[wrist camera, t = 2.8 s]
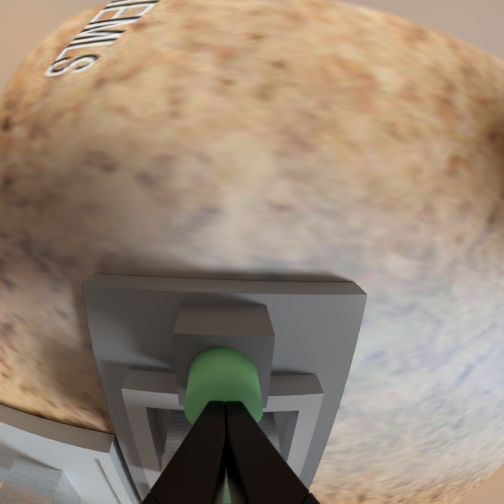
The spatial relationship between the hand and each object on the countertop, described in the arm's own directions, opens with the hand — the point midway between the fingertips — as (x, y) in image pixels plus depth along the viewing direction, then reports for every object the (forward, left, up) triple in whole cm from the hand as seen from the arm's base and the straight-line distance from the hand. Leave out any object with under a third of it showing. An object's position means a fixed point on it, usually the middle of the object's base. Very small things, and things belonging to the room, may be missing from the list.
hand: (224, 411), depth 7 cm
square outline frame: (-14, +12, -5) cm, 19 cm away
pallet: (-8, 0, -5) cm, 9 cm away
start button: (0, 0, -2) cm, 2 cm away
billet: (-14, +12, -4) cm, 19 cm away
